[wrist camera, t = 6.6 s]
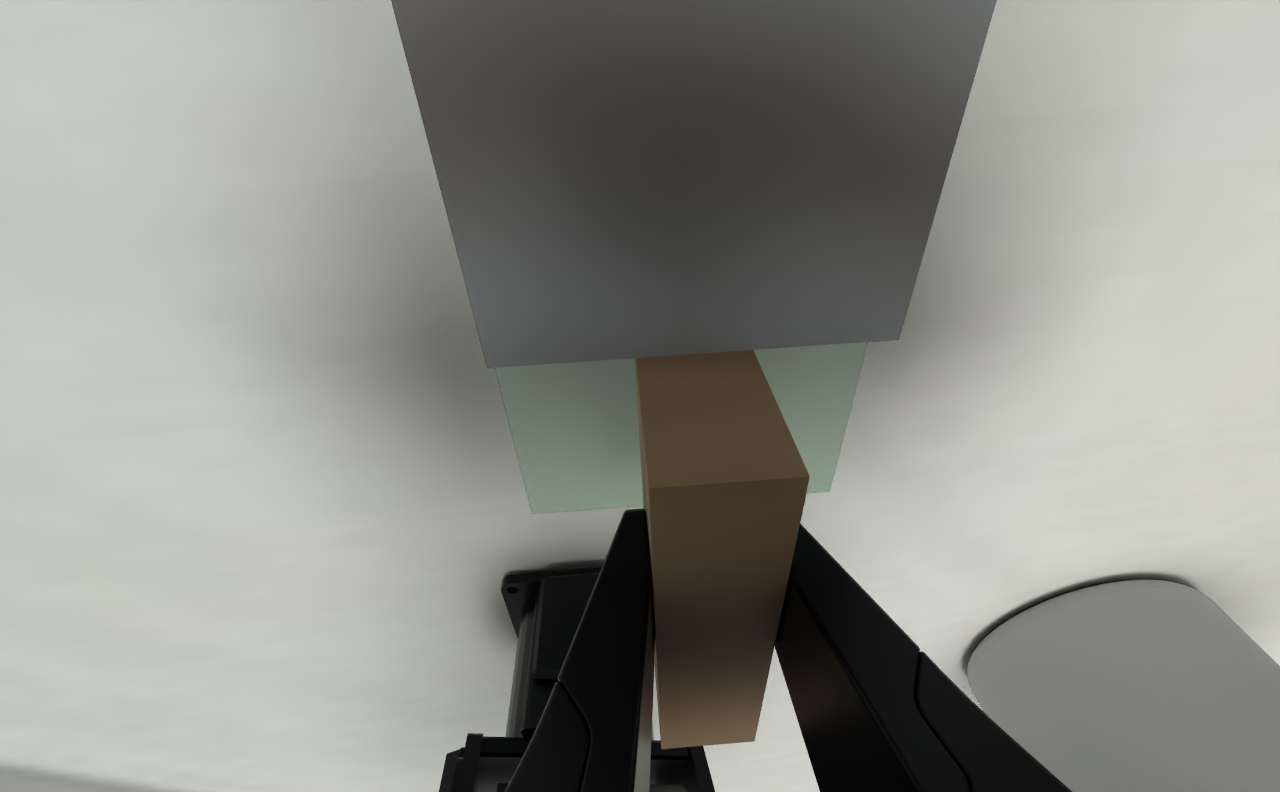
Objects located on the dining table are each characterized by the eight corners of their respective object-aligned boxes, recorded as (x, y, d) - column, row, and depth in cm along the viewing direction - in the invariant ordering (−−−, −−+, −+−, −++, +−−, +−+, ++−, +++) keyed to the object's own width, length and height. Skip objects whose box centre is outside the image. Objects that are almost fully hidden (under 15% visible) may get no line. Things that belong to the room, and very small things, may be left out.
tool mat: (820, 472, 20) (829, 491, 19) (534, 493, 20) (531, 513, 19) (986, -245, 9) (1022, -269, 9) (363, -217, 9) (340, -238, 8)
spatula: (810, 571, 14) (869, 731, 11) (557, 591, 14) (544, 759, 11) (986, -144, 6) (1405, -310, 3) (388, -115, 6) (146, -256, 3)
